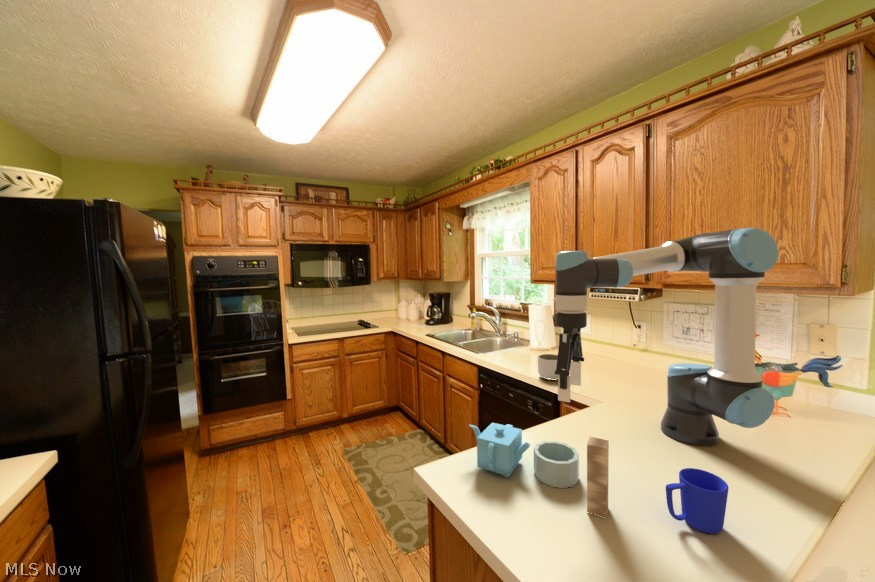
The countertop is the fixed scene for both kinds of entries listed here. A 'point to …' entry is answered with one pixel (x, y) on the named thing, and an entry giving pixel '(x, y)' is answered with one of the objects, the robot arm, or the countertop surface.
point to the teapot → (499, 448)
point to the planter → (547, 365)
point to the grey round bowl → (556, 464)
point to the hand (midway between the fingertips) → (570, 392)
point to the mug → (700, 499)
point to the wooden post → (597, 476)
